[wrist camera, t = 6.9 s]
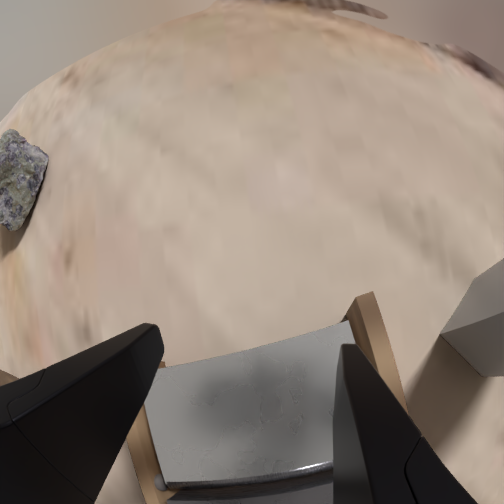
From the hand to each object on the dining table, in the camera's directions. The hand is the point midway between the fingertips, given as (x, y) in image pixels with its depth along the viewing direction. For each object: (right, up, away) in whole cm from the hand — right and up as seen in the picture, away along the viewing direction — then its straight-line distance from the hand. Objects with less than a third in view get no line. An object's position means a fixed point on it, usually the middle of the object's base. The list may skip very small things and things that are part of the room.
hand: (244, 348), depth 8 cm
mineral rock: (-32, +11, +27) cm, 43 cm away
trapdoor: (+1, -9, +7) cm, 11 cm away
